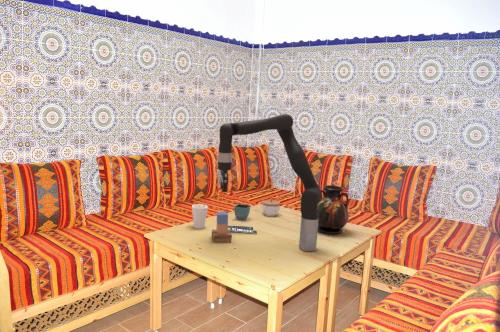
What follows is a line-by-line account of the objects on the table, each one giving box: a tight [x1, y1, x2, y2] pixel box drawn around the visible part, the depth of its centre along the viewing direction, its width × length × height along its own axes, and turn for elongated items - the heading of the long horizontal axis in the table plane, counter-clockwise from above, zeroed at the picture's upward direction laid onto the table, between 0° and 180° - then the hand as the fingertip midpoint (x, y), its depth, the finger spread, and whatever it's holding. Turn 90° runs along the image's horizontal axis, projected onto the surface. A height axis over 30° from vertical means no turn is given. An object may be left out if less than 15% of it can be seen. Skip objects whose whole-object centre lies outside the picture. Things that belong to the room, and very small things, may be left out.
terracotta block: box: [215, 223, 229, 234], centre depth 218 cm, size 6×6×6 cm
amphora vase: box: [317, 184, 350, 236], centre depth 242 cm, size 22×22×28 cm
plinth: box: [211, 229, 233, 244], centre depth 219 cm, size 10×10×4 cm
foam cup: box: [191, 203, 209, 230], centre depth 238 cm, size 10×9×13 cm
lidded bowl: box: [261, 199, 281, 217], centre depth 273 cm, size 13×13×11 cm
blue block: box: [216, 211, 229, 225], centre depth 217 cm, size 6×6×6 cm
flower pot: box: [233, 203, 251, 221], centre depth 259 cm, size 9×9×9 cm
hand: (223, 190), depth 215 cm, fingers open, 8 cm apart
